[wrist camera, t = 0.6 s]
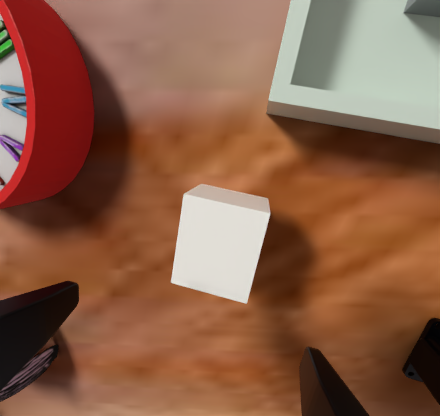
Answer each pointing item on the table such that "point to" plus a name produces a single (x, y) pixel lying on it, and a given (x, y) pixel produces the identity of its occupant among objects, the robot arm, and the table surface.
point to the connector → (220, 241)
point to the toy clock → (40, 103)
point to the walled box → (361, 66)
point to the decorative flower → (29, 372)
